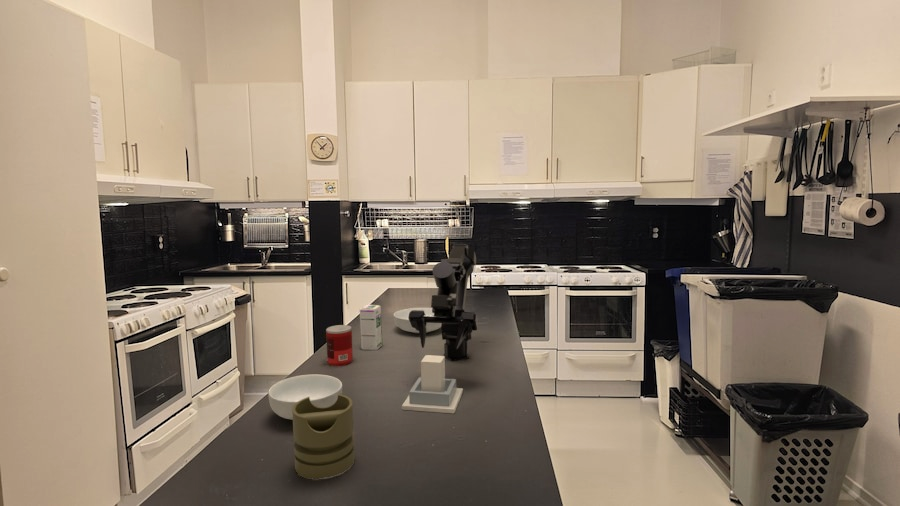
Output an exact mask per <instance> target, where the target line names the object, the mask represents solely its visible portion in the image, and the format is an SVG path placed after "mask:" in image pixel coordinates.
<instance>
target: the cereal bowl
mask: <svg viewBox="0 0 900 506" xmlns="http://www.w3.org/2000/svg"><path fill="white" fill-rule="evenodd" d="M342 393H343V382H342V381H341V380H340V379H339V378H337V377H335V376H332V375H327V374H318V373H317V374H313V373H312V374H310V373H309V374H302V375H301V374H300V375H295V376H291V377H288V378H285V379H281V380H279V381H278V382H276V383H275V384H273V385H272V386H271V387H270V388H269V390H268V393H267V396H268V402H269V405H270V408H271V410H272V411H273V412H274V414H276V415H277V416H279V417H281V418H283V419H287V420H291V421H293V417H292V408H293V406H294V405H295V404H296V403H297V402H298V401H300V400H302V399H304V398H307V397H309V398H310V401H311V402H312V404H314V405H315V406H318V407H328V406H330V405H332V404H334V403H335V402H336V400H337V398H338V394H341V395H343V394H342Z"/></svg>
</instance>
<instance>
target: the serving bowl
mask: <svg viewBox="0 0 900 506" xmlns="http://www.w3.org/2000/svg"><path fill="white" fill-rule="evenodd" d="M412 310H422V311H424V313H425V315H428V316H434V313H432V307H410V308H404V309H399V310H397V311H395V312H394V313H393V315H392V316H393V320H394V321H393V322H394V323H395V325H396V326H397V327H398V328H399V329H401V330H403V331H405V332H409V333H413V334H419V331H417V330H416V329H415V328H413V327H412V326H411V323H410V321H409V318H408V317H409V313H410V312H411V311H412ZM441 324H442V323H427V324H426V334H427V333H431V332H433V331H437V330H438V329H441Z"/></svg>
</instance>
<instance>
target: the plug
mask: <svg viewBox="0 0 900 506" xmlns="http://www.w3.org/2000/svg"><path fill="white" fill-rule="evenodd" d="M445 359H446V357H445V356H444V355H430V354H425V355H424V357H423V358H422V360H421V361H420V377H421V391H428V392H443V393H445V379H446V364H445V362H446V361H445Z"/></svg>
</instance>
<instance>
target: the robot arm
mask: <svg viewBox="0 0 900 506" xmlns="http://www.w3.org/2000/svg"><path fill="white" fill-rule="evenodd" d="M476 265H477V256H476V252H475V250H473V249H471V248H470V247H469V244H466V243H455V244H452V247H451V250H450V253H449V255H448V258H446V259H445V258H443V259H440V262H438V263H436V264H435V265H434V266H433V267H432V275H433V278H434V282H435V285H436V287H437V294H434V295H433V294H432V295H431V302H430V303H431V304H430V308H432V313H434V316H428V315H425V313H424V311H422V310H412V311H411V312H410V313H409V317H408V318H409V321H410V323H411V326H412V327H413V328H415V329H416V330H417V331H419V333H418V334H419V338H420V345H421V348H422V349H423V348H425V344H426V338H427V337H426V336H427V333H426V324H427V323H442V324H441V327H440V329H441V338H442V340H445V343H443V344H444V347H443V350H444V353H443V356H445V358H447V359H448V360H450V361H452V362H453V361H460V360H466V359H470V355H468V342H469V340H472V333H473V331H474V332H475V331H477V330H478V327H479V326H478V325H479V323H478V315H477V313H476V312H474V311H466V310H465V307H466V306H465V305H466V297H467V289H468V288H467V287H468V279H469V276H471V274H473V273H474V269H475V266H476Z"/></svg>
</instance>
